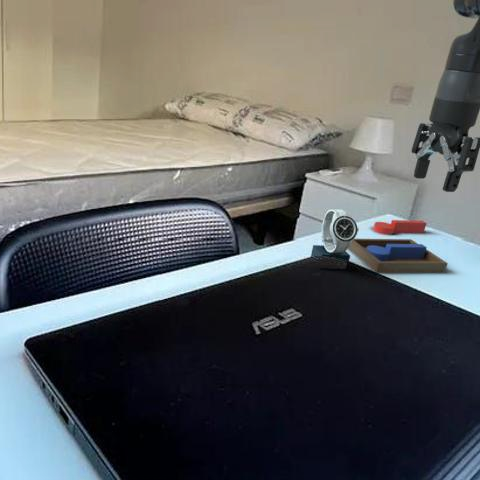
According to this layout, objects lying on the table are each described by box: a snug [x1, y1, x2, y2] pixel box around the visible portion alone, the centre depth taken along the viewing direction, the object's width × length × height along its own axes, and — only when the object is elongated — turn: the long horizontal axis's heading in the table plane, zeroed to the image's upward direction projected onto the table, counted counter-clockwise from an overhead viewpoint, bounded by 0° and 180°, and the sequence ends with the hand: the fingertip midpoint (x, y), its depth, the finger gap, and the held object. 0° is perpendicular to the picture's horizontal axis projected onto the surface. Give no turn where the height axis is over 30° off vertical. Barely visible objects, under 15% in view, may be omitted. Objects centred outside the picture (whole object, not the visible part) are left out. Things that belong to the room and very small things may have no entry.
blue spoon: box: [366, 243, 428, 261], centre depth 100 cm, size 12×4×3 cm, turn 99°
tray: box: [347, 238, 448, 273], centre depth 100 cm, size 15×12×2 cm
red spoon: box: [372, 219, 428, 236], centre depth 116 cm, size 12×4×3 cm, turn 99°
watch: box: [310, 208, 360, 262], centre depth 94 cm, size 6×8×11 cm
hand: (433, 184), depth 96 cm, fingers open, 8 cm apart
